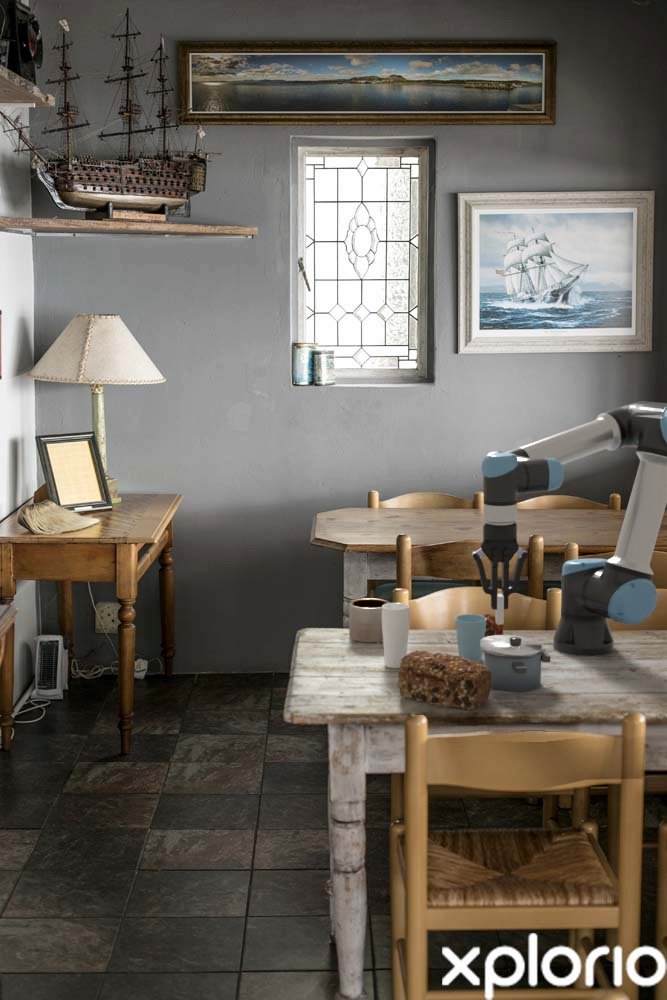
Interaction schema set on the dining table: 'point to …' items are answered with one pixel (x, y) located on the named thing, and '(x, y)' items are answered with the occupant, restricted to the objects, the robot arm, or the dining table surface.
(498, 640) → the lid
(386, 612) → the drinking glass
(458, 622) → the cup
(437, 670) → the bread
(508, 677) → the pot
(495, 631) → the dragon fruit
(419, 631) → the dining table surface
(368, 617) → the planter
